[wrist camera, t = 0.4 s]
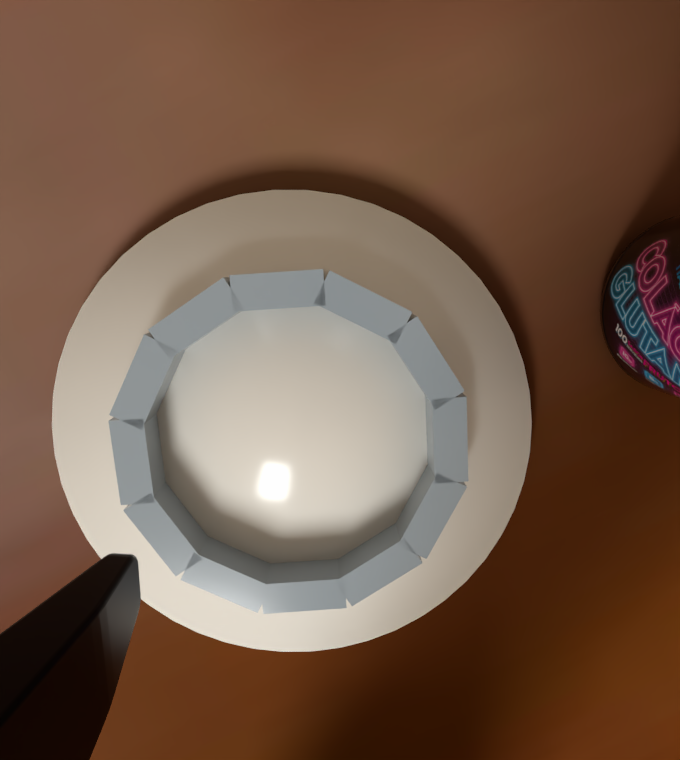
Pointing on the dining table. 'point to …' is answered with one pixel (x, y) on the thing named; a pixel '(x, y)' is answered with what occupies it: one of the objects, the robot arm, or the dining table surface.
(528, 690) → the dining table surface
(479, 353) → the round tray
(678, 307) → the supplement container
